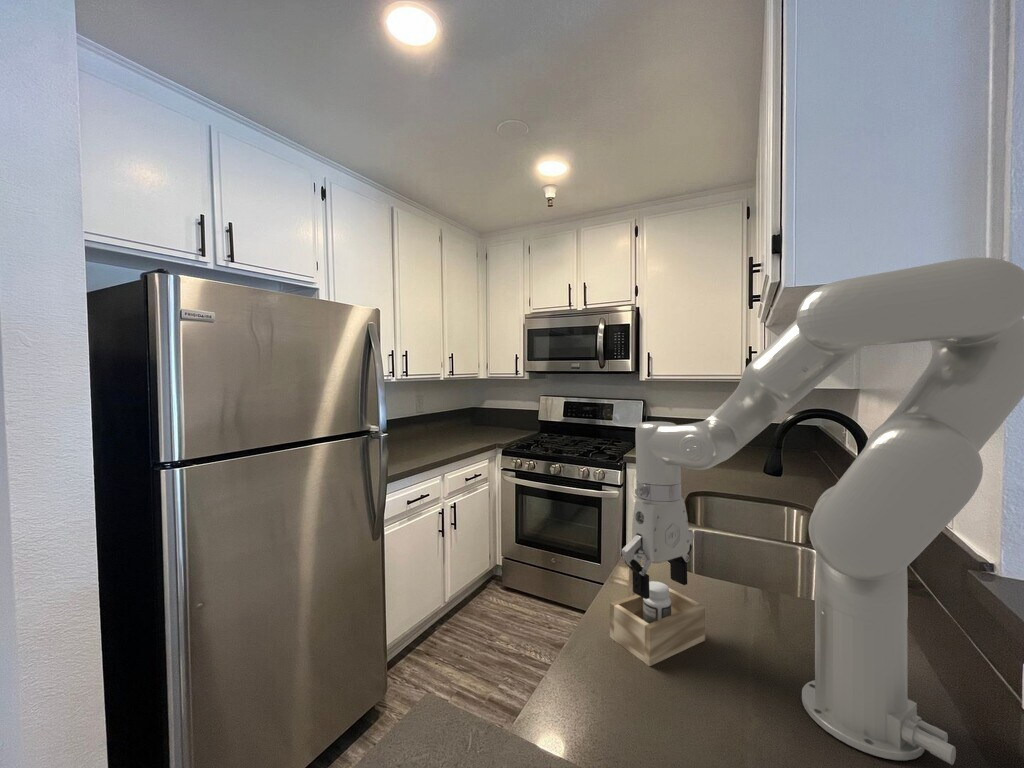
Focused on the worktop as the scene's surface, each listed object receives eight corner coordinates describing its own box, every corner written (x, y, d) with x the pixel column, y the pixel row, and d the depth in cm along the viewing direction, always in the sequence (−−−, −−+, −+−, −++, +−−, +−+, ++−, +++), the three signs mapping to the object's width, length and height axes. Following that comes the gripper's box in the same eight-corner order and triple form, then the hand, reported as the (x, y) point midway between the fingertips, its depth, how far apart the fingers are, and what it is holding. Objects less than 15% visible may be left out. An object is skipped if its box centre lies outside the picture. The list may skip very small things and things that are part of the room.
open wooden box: (704, 640, 73) (705, 606, 73) (649, 666, 66) (649, 628, 66) (663, 615, 81) (663, 585, 81) (609, 636, 74) (610, 603, 74)
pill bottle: (668, 626, 76) (667, 580, 76) (674, 642, 71) (674, 593, 71) (641, 624, 76) (640, 579, 76) (645, 640, 72) (645, 591, 72)
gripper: (640, 502, 66) (642, 611, 66) (708, 489, 75) (710, 585, 75) (607, 493, 73) (609, 592, 72) (673, 482, 82) (675, 570, 81)
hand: (660, 588), depth 74 cm, fingers open, 9 cm apart
